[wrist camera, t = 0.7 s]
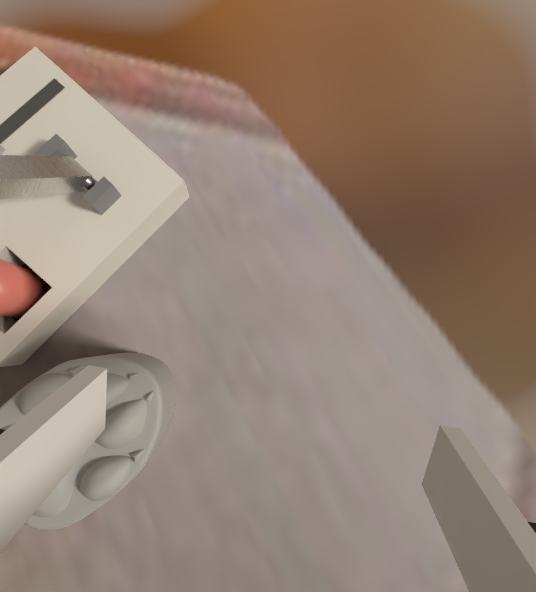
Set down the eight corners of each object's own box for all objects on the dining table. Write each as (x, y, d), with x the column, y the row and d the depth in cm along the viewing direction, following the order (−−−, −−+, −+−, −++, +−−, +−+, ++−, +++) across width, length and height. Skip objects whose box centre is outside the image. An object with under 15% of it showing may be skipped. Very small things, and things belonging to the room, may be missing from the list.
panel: (22, 364, 33) (-27, 370, 27) (-124, 232, 33) (-208, 208, 27) (189, 197, 37) (180, 168, 30) (56, 77, 37) (19, 23, 30)
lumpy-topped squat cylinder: (15, 413, 33) (-61, 440, 24) (136, 325, 35) (105, 320, 26) (84, 506, 33) (32, 566, 24) (202, 412, 34) (193, 436, 26)
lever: (92, 196, 31) (-77, 216, 20) (65, 171, 31) (-121, 177, 20) (102, 175, 30) (-70, 184, 19) (74, 150, 30) (-115, 142, 19)
